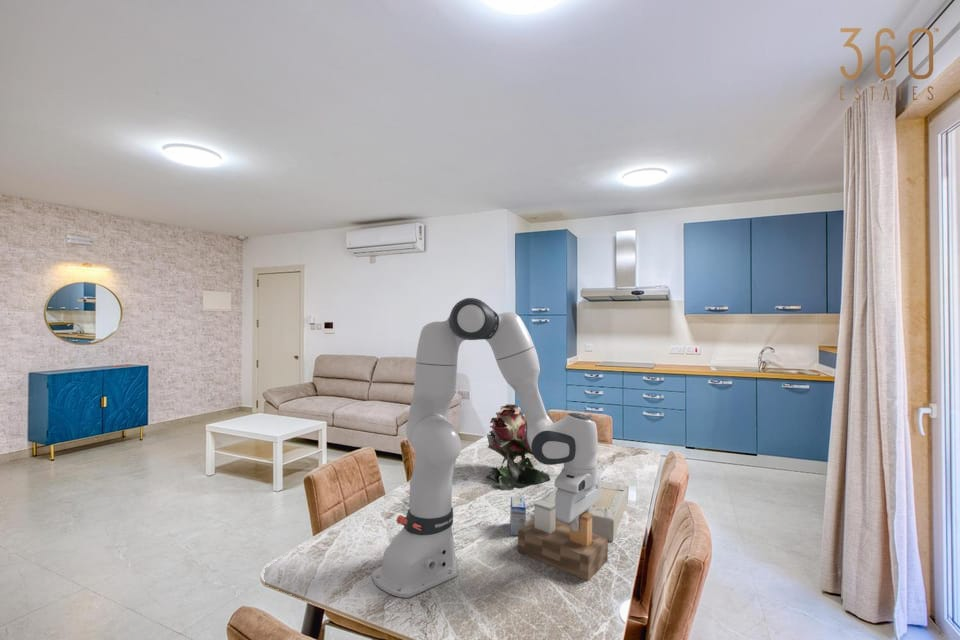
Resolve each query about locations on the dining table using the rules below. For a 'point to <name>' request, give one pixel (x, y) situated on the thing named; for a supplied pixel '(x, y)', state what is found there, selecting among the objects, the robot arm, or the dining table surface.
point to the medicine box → (517, 514)
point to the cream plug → (545, 516)
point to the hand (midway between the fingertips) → (579, 526)
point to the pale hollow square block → (604, 509)
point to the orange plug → (583, 530)
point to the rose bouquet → (512, 450)
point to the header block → (563, 550)
